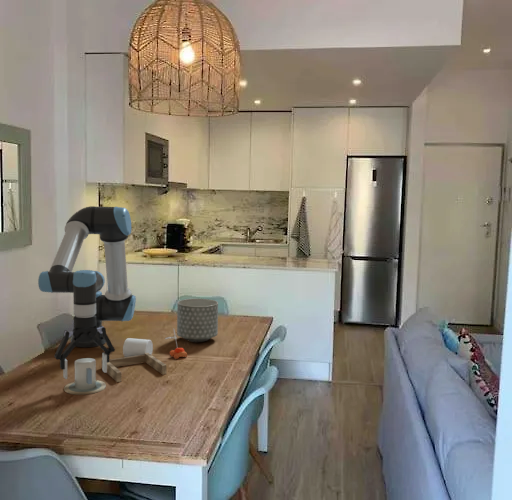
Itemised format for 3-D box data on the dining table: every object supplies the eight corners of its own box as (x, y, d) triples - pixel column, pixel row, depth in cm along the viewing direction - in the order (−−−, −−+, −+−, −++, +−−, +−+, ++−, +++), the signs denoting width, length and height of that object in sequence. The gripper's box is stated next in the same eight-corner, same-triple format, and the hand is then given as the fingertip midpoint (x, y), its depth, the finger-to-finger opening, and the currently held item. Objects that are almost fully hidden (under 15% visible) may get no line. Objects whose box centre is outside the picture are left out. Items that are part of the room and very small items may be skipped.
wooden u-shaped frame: (101, 368, 210) (101, 359, 210) (148, 361, 220) (148, 352, 220) (117, 382, 195) (117, 372, 194) (166, 373, 205) (166, 364, 205)
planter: (169, 342, 249) (169, 303, 247) (189, 333, 267) (189, 297, 265) (205, 347, 242) (206, 308, 240) (224, 337, 260) (224, 300, 258)
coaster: (59, 384, 191) (59, 383, 190) (99, 378, 198) (99, 377, 198) (69, 397, 179) (69, 396, 179) (111, 390, 186) (111, 389, 186)
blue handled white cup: (92, 381, 193) (92, 357, 192) (100, 389, 186) (100, 364, 185) (72, 384, 190) (72, 359, 189) (79, 392, 182) (79, 367, 181)
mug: (145, 361, 220) (145, 342, 219) (122, 359, 222) (122, 340, 221) (156, 353, 231) (156, 335, 231) (134, 351, 233) (134, 333, 233)
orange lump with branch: (166, 354, 230) (166, 327, 229) (188, 355, 230) (189, 328, 229) (163, 358, 224) (163, 330, 223) (186, 359, 224) (186, 331, 223)
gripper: (116, 309, 196) (116, 366, 198) (44, 316, 182) (45, 377, 185) (123, 313, 190) (123, 372, 192) (49, 321, 176) (50, 384, 178)
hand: (85, 374), depth 188 cm, fingers open, 13 cm apart
